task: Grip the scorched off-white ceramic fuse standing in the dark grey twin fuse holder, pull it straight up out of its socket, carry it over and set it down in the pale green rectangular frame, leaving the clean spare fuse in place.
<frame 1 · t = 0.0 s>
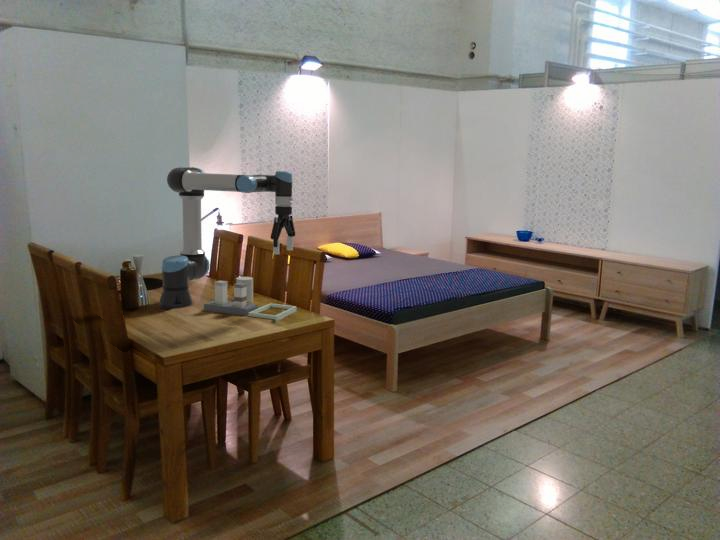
hand: (283, 252, 278), 28 cm above the table, fingers open, 13 cm apart
pale green rectangular frame: (273, 314, 277), on the table
fuse holder: (230, 312, 278), on the table
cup: (244, 302, 299), on the table
spare fuse: (221, 309, 280), point 1 cm above the table, touching fuse holder
blown fuse: (240, 311, 276), point 1 cm above the table, touching fuse holder
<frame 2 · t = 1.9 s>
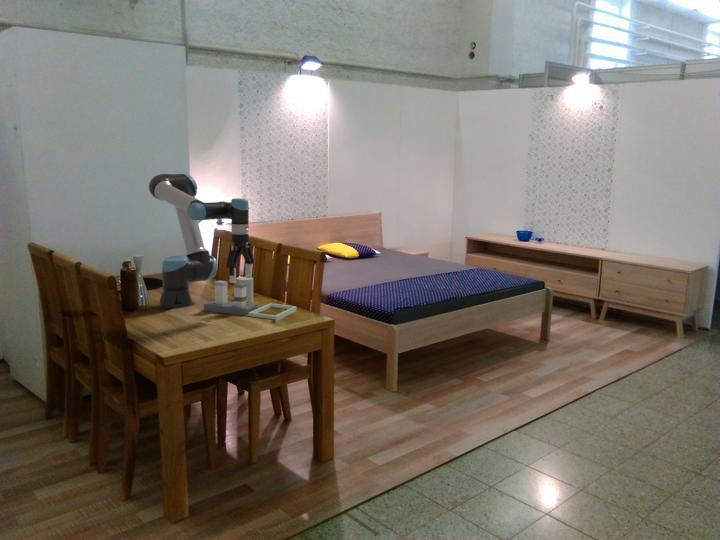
hand: (240, 280, 274), 16 cm above the table, fingers open, 13 cm apart
nothing on the table moved.
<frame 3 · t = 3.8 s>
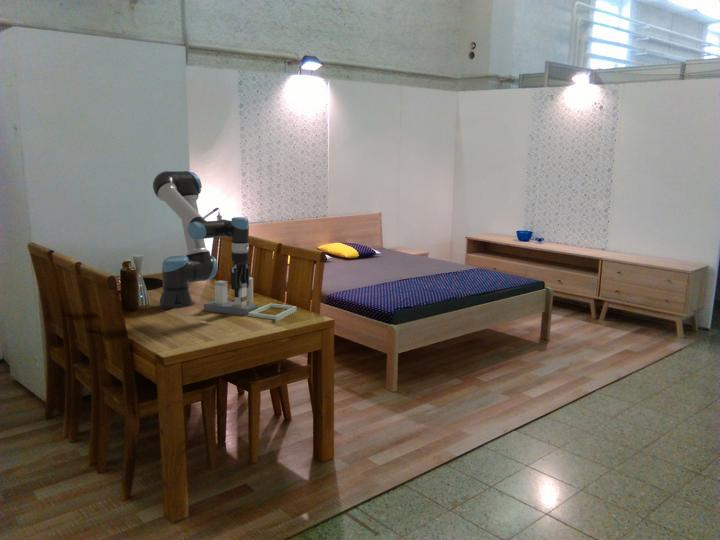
hand: (240, 302, 276), 5 cm above the table, fingers closed on blown fuse, 4 cm apart
blown fuse: (240, 311, 276), point 1 cm above the table, touching fuse holder, gripper
everything else where it was.
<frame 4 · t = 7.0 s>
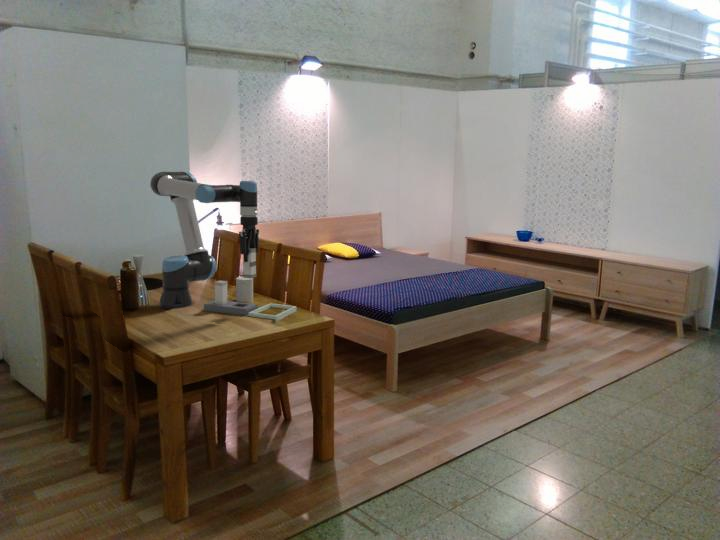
hand: (249, 268, 272), 21 cm above the table, fingers closed on blown fuse, 4 cm apart
blown fuse: (249, 277, 273), point 17 cm above the table, touching gripper
everything else where it was.
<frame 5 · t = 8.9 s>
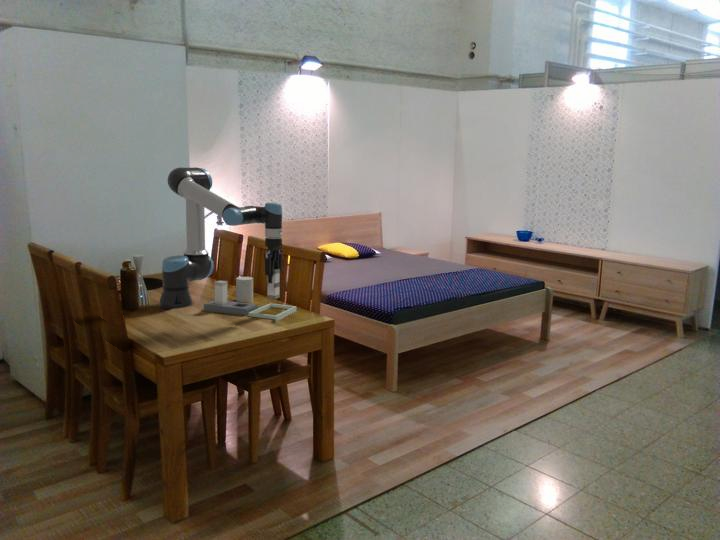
hand: (273, 288, 275), 12 cm above the table, fingers closed on blown fuse, 4 cm apart
blown fuse: (273, 297, 275), point 8 cm above the table, touching gripper
everything else where it was.
when the fingers open (6 cm above the table, at t = 10.4 s): blown fuse drops 1 cm, resting on pale green rectangular frame.
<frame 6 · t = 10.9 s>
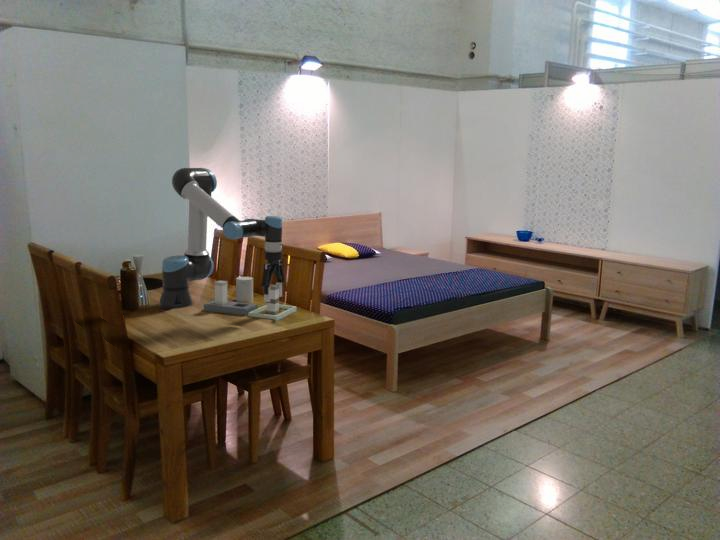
hand: (273, 298, 275), 7 cm above the table, fingers open, 11 cm apart
blown fuse: (273, 313, 277), point 1 cm above the table, touching pale green rectangular frame
everything else where it was.
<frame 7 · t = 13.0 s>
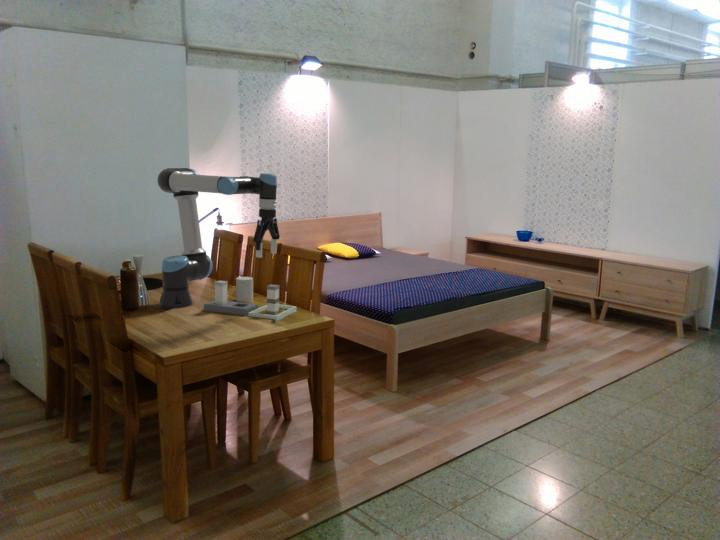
hand: (266, 255, 275), 27 cm above the table, fingers open, 13 cm apart
nothing on the table moved.
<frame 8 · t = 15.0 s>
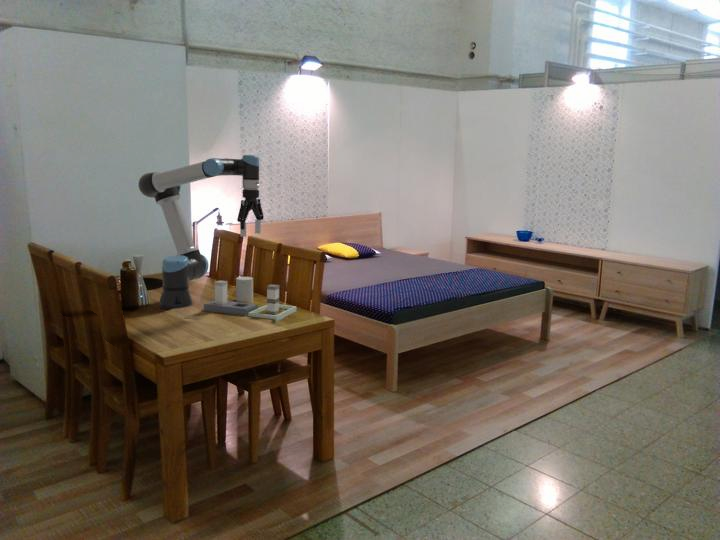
hand: (250, 235, 283), 35 cm above the table, fingers open, 13 cm apart
nothing on the table moved.
at the end: blown fuse inside the target area on the pale green rectangular frame (0.0 cm from its centre), point 0.6 cm above the pale green rectangular frame's base; the gripper is holding nothing; spare fuse moved 0.1 cm from its start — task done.
